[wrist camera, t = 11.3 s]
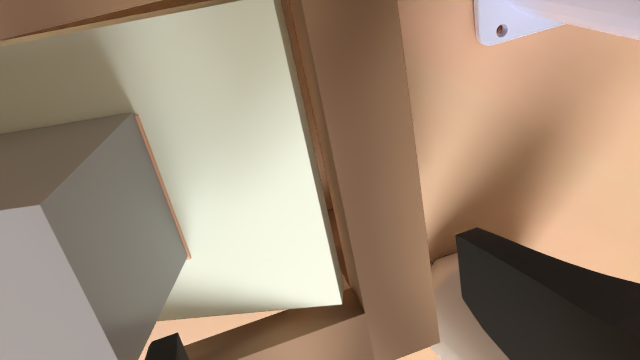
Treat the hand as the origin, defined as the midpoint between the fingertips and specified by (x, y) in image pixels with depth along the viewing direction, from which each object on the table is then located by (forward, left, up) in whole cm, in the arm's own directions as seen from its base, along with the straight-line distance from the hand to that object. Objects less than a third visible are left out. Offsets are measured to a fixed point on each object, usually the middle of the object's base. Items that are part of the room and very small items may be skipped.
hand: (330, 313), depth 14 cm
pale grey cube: (+6, -2, -6) cm, 9 cm away
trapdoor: (+3, -2, -6) cm, 8 cm away
